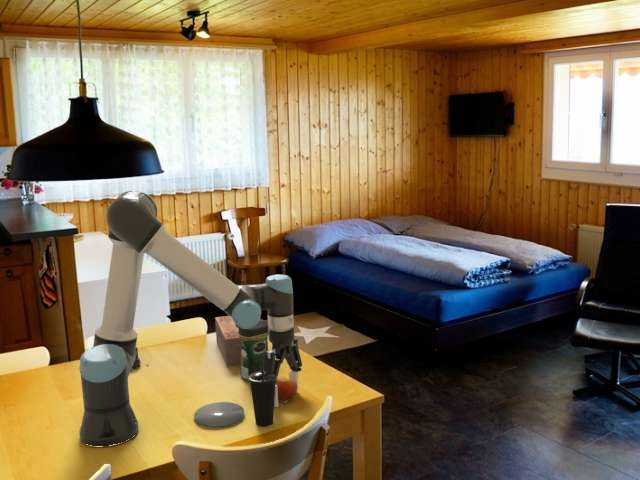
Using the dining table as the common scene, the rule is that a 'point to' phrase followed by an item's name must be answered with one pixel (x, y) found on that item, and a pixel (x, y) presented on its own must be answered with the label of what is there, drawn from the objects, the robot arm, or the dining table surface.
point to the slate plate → (219, 415)
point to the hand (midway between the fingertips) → (284, 398)
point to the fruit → (285, 389)
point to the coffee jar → (253, 348)
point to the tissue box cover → (228, 340)
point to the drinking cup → (263, 395)
